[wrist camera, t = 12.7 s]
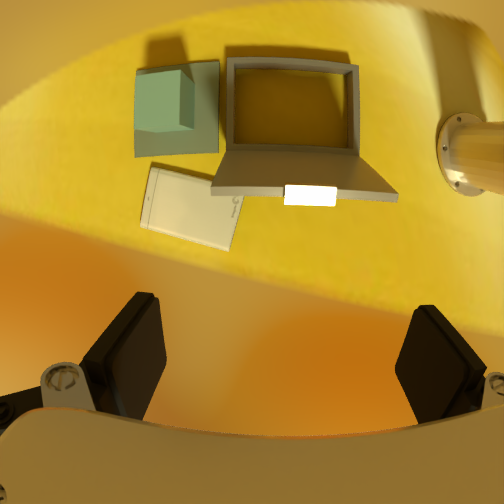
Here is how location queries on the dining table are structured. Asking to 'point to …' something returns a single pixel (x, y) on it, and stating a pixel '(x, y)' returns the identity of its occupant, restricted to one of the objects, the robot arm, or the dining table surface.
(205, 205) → the hard drive
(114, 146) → the dining table surface
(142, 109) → the block
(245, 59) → the case
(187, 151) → the mat
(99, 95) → the dining table surface
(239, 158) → the lid
